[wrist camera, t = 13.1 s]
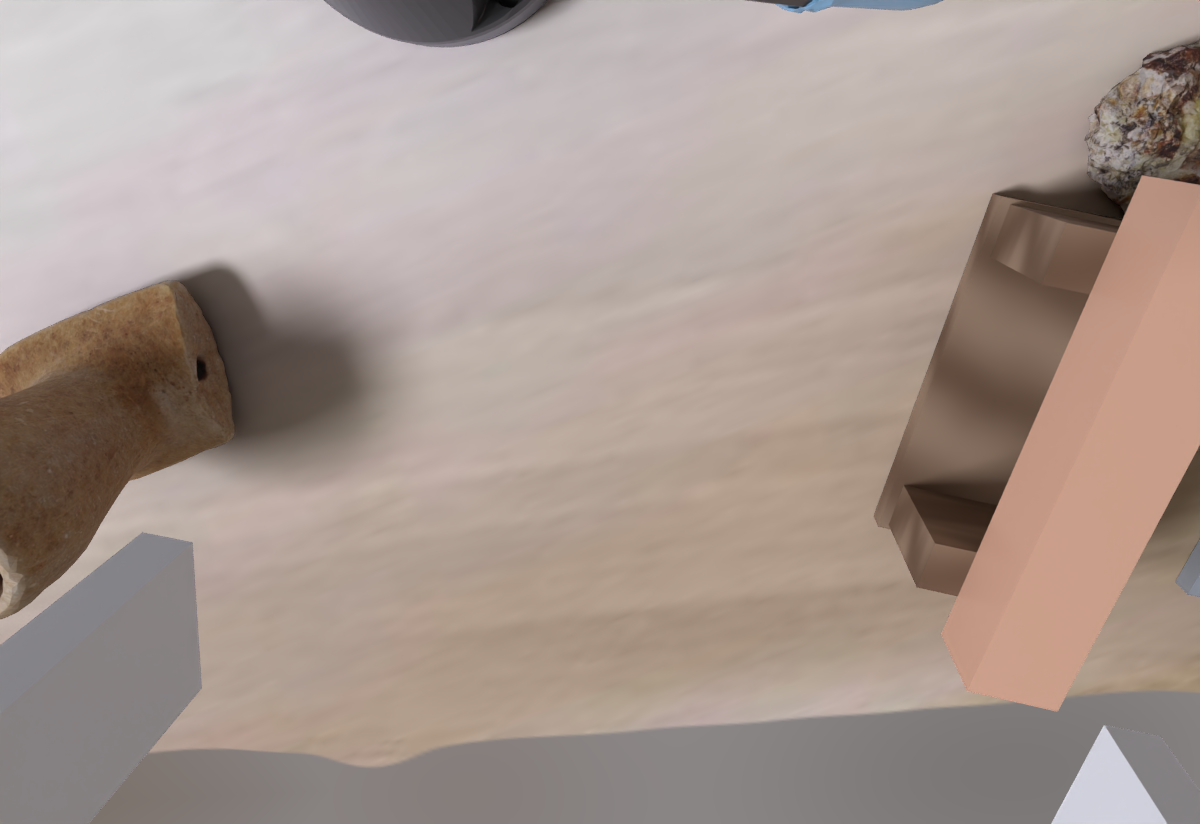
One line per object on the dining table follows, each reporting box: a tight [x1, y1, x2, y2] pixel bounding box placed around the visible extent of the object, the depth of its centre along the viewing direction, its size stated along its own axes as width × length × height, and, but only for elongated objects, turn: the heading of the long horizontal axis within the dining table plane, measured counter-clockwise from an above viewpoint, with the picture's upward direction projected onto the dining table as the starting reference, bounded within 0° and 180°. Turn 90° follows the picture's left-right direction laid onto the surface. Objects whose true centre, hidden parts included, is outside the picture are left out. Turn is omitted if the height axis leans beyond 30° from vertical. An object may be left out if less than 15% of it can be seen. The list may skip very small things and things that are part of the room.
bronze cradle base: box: [874, 194, 1122, 596], centre depth 37 cm, size 18×9×7 cm, turn 170°
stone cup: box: [0, 281, 235, 619], centre depth 40 cm, size 15×12×15 cm
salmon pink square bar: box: [941, 175, 1200, 711], centre depth 32 cm, size 22×4×4 cm, turn 170°
